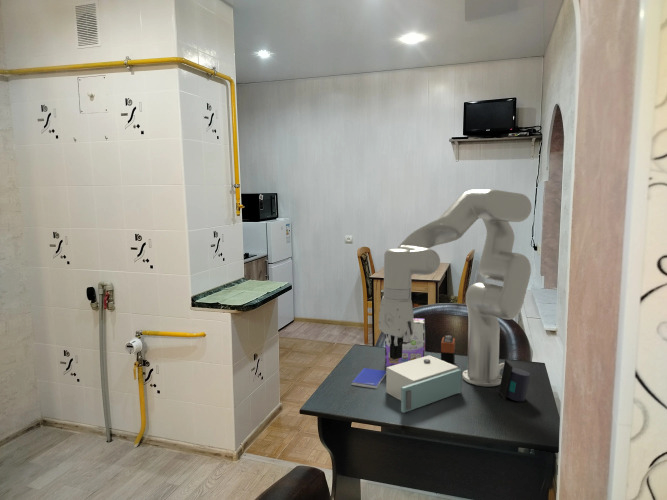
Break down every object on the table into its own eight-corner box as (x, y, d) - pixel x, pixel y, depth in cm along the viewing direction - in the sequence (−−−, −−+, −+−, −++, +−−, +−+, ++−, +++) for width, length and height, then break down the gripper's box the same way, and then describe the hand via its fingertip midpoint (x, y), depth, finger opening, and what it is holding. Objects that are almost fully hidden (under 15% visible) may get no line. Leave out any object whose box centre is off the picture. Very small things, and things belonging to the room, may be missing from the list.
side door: (459, 390, 137) (460, 368, 136) (464, 392, 136) (464, 370, 135) (401, 411, 125) (401, 387, 124) (405, 413, 123) (405, 389, 122)
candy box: (424, 362, 161) (425, 318, 159) (424, 369, 156) (424, 322, 154) (386, 360, 165) (386, 316, 163) (384, 366, 159) (384, 320, 157)
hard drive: (376, 385, 141) (386, 370, 152) (351, 381, 144) (363, 367, 155) (376, 390, 141) (386, 375, 152) (351, 386, 144) (363, 372, 155)
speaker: (497, 399, 132) (502, 365, 130) (498, 392, 137) (503, 359, 136) (525, 406, 129) (531, 371, 128) (525, 398, 134) (530, 365, 133)
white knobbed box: (431, 377, 148) (432, 352, 147) (460, 390, 138) (460, 364, 137) (386, 392, 138) (386, 365, 137) (413, 407, 128) (413, 378, 127)
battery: (454, 362, 162) (455, 335, 160) (453, 369, 155) (454, 341, 154) (442, 360, 163) (442, 334, 162) (440, 367, 157) (440, 340, 155)
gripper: (369, 290, 129) (369, 352, 131) (405, 300, 116) (403, 369, 118) (390, 287, 133) (389, 348, 135) (426, 297, 120) (424, 363, 122)
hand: (395, 357), depth 126 cm, fingers closed
